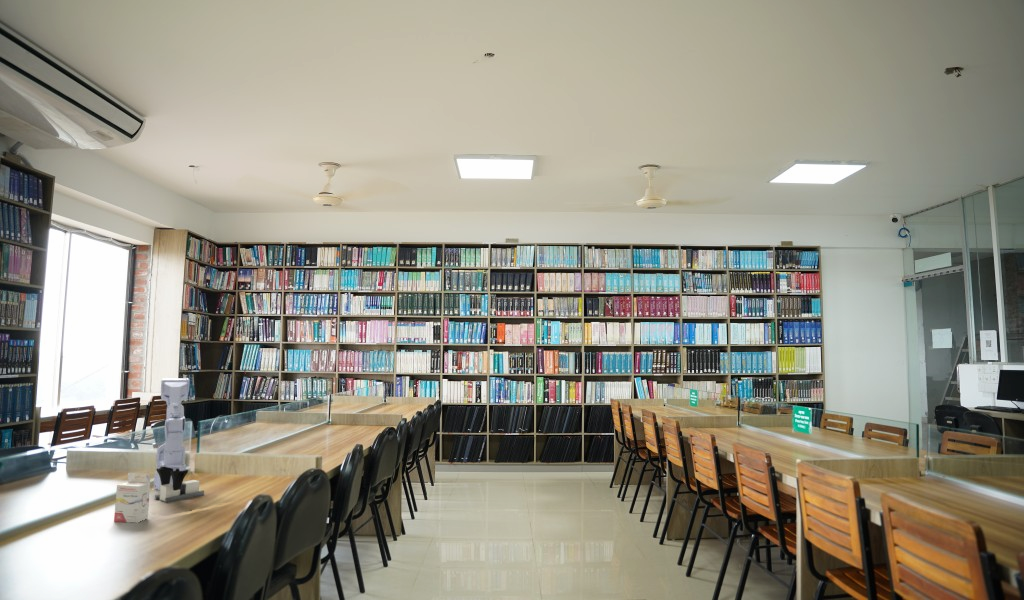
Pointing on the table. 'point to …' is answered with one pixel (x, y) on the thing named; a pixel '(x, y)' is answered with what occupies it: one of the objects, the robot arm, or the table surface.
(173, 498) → the sliding window
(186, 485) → the white and grey block
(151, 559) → the table surface
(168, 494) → the white cardboard box
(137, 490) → the ink cartridge box
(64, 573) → the table surface
